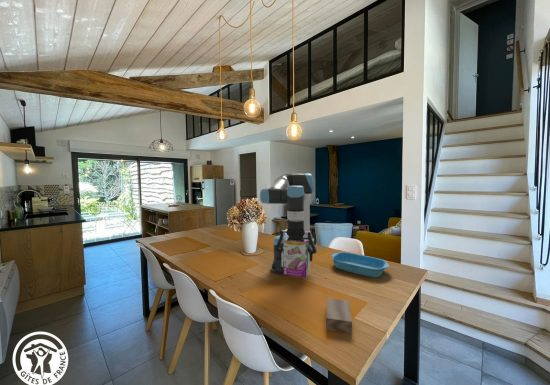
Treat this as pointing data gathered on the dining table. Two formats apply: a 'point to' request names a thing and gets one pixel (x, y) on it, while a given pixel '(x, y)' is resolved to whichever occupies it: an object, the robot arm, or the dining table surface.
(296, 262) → the candy bar box
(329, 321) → the walnut block
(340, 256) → the casserole dish
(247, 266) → the dining table surface
